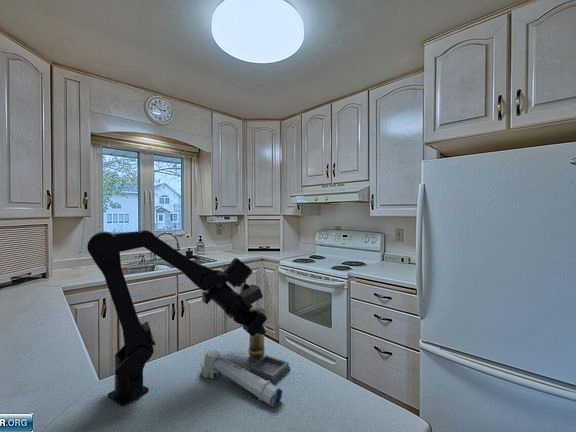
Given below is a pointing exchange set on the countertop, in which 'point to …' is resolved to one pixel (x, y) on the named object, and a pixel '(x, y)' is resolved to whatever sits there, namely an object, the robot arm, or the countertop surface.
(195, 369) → the countertop surface
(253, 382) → the white long piece
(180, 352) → the countertop surface
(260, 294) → the robot arm
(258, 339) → the brass domed cylinder
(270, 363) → the shallow square tray
